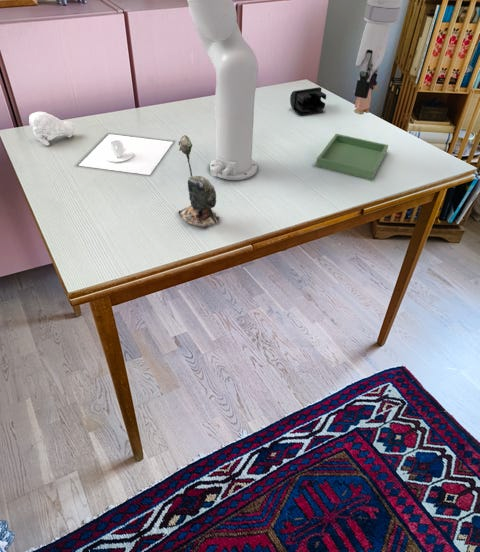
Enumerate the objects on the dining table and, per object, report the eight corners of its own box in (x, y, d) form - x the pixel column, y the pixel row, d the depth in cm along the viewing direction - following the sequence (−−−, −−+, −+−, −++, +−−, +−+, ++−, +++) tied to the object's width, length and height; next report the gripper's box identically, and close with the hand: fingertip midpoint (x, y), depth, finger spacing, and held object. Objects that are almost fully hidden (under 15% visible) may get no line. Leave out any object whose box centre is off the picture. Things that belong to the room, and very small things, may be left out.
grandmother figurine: (362, 106, 125) (373, 56, 116) (374, 110, 123) (386, 60, 114) (345, 113, 120) (355, 61, 112) (357, 117, 118) (368, 65, 110)
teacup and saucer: (112, 147, 132) (109, 133, 129) (138, 150, 131) (136, 136, 128) (98, 161, 125) (96, 147, 123) (126, 165, 124) (124, 150, 121)
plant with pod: (194, 238, 101) (190, 153, 87) (175, 211, 108) (169, 130, 95) (227, 228, 104) (228, 145, 90) (207, 203, 111) (205, 123, 98)
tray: (372, 179, 122) (374, 171, 120) (315, 166, 127) (317, 158, 125) (386, 152, 134) (388, 145, 132) (334, 141, 139) (335, 133, 137)
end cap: (314, 104, 160) (316, 84, 155) (325, 112, 155) (328, 91, 151) (288, 108, 157) (290, 88, 152) (299, 116, 152) (301, 95, 147)
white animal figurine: (25, 109, 128) (69, 105, 134) (30, 139, 134) (72, 134, 139) (30, 117, 124) (75, 113, 130) (36, 147, 130) (79, 142, 135)
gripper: (374, 5, 113) (358, 80, 125) (356, 18, 101) (340, 100, 113) (405, 9, 111) (386, 85, 123) (390, 24, 99) (370, 107, 111)
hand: (364, 92), depth 118 cm, fingers closed on grandmother figurine, 6 cm apart
